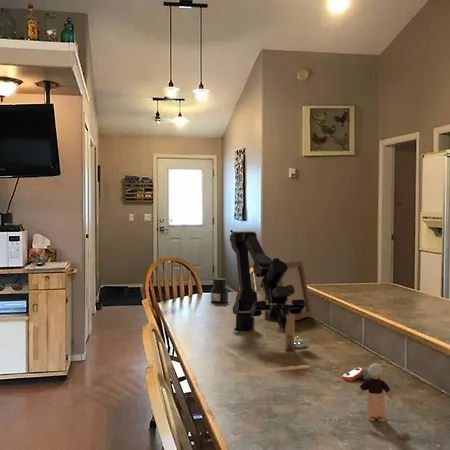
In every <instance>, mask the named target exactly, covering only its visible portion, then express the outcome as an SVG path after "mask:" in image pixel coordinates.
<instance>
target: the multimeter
mask: <svg viewBox="0 0 450 450" xmlns="http://www.w3.org/2000/svg"><path fill="white" fill-rule="evenodd" d="M341 378H342V380H340V381H337V380H339V379H341ZM358 378H359V380H361V381H362V383H363V382H364V381H366V380H370V379H372V378H371V376H370V375H369V373H368V369H367V370H363V368H362V367H355V368H353V369H352V370H350V371H349V372H346V373H344V374H343V375H342V376H341V377H338V378H337V379H336V380H335V383H341V382H342V381H347V382H353V381H355V380H356V379H358ZM379 380H381V377H380V378H379Z"/></svg>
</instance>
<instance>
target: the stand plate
mask: <svg viewBox="0 0 450 450" xmlns="http://www.w3.org/2000/svg"><path fill="white" fill-rule="evenodd" d="M299 337H300V336H297V335H296V336H294V341H304V340H303V339H301V338H299ZM294 352H295V351H290V355H294Z"/></svg>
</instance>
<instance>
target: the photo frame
mask: <svg viewBox="0 0 450 450" xmlns="http://www.w3.org/2000/svg"><path fill="white" fill-rule="evenodd" d="M284 263H285V264H286V265H287V267H288V269H287V271H286V273H285V275H284V277H283V279H282V280H281V281H280V282H278V283H279V286H288V285H293V287H294V290H295V293H294V294H292V295H291V296H288V297H287V298H288V300H287V301H285V303H291V302H292V300H293V299H303V300H304V301H305V304H306V306H305V307H304V309H303V311H302V312H301V313H300V314H295V321H298V320H303V319H306V318H309V317H311V316H313V311H312V306H311V301H310V295H309V291H308V284H307V279H306V274H305V267H304V264H303V260H299V261H290V262H284ZM289 313H290V312H289ZM268 314H269V312H268V311H264V319H271V318H270V317H268Z"/></svg>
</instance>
